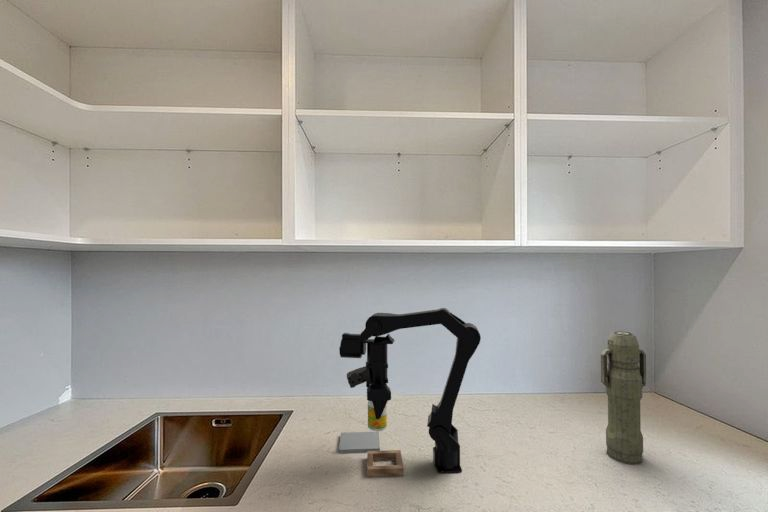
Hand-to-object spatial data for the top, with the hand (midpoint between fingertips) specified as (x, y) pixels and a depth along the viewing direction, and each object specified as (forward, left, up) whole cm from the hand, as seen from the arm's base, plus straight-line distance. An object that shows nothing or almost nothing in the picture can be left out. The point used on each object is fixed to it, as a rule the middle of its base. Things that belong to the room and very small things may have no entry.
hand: (377, 414), depth 107 cm
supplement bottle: (0, 0, -4) cm, 4 cm away
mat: (+5, -10, -13) cm, 17 cm away
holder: (-2, +3, -13) cm, 13 cm away
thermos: (-70, +2, -13) cm, 71 cm away
